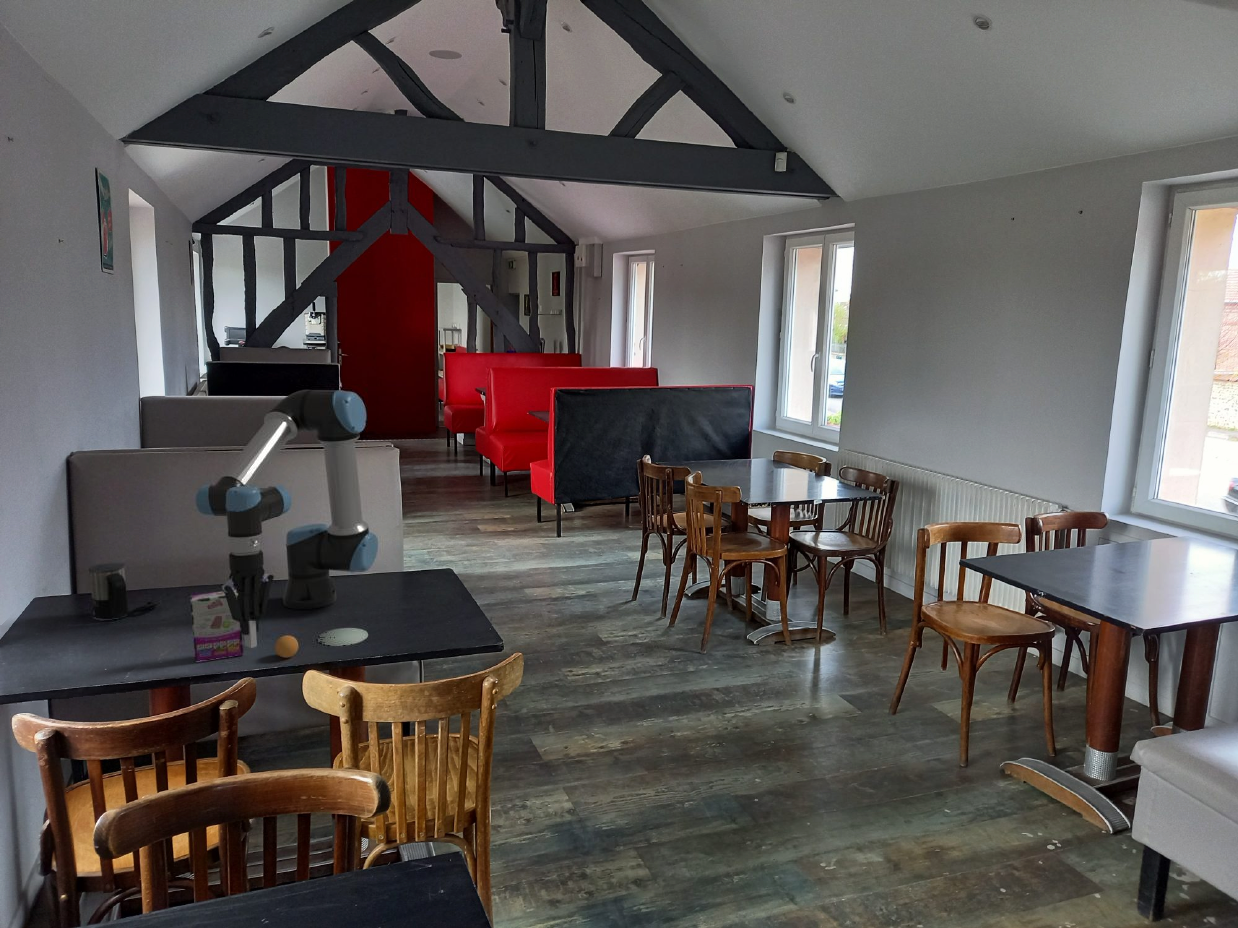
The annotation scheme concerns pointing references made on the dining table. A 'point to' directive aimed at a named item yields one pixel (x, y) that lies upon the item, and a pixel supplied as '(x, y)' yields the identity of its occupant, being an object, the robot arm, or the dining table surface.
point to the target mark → (343, 636)
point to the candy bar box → (214, 627)
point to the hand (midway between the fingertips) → (250, 645)
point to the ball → (286, 646)
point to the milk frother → (111, 591)
